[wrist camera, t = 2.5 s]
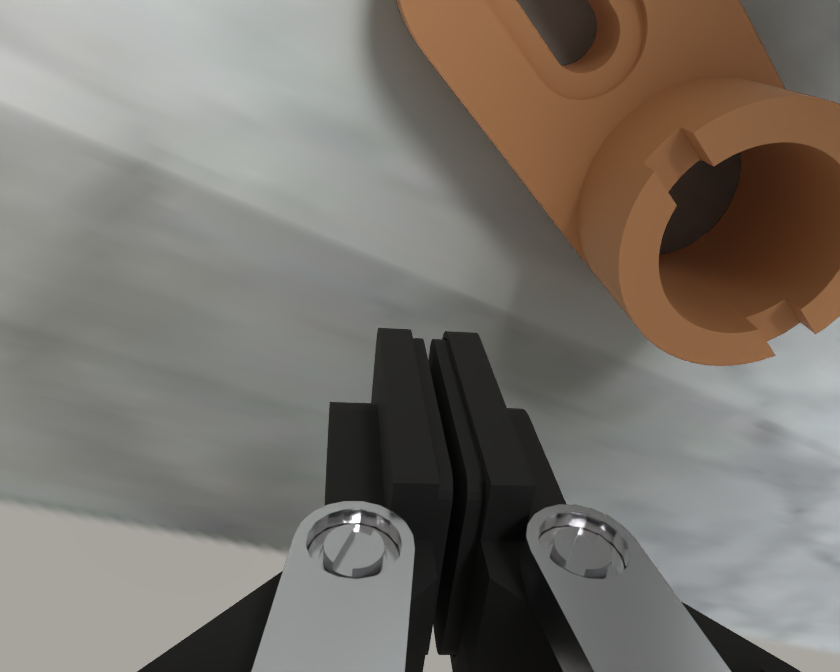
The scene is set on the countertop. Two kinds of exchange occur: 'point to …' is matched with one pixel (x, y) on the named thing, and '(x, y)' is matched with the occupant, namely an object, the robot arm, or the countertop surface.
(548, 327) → the countertop surface
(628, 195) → the bracket
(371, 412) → the robot arm
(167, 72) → the countertop surface
